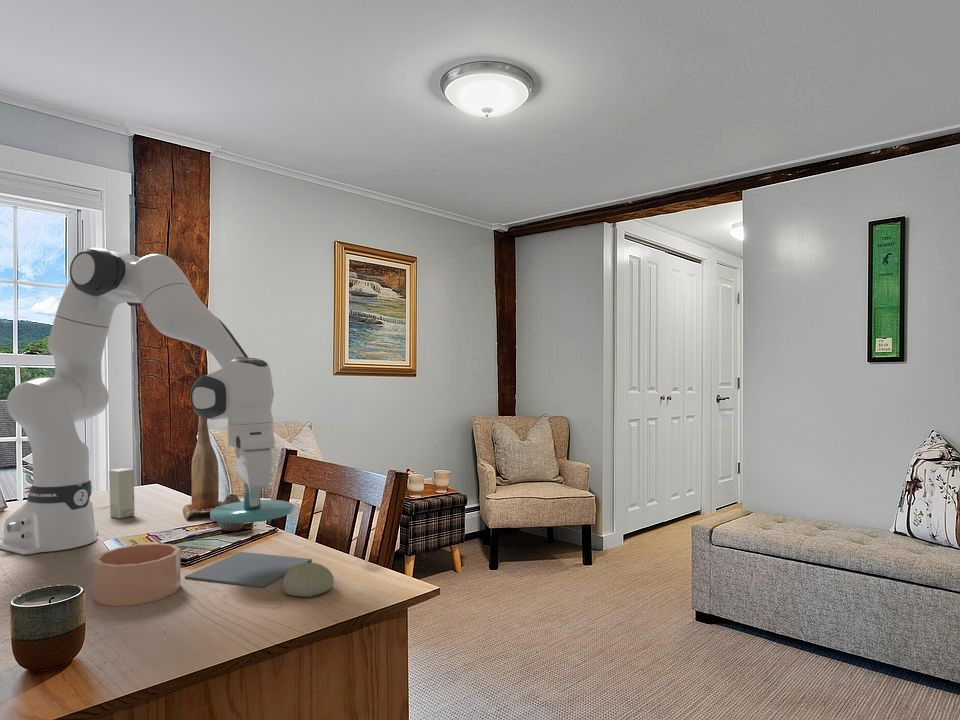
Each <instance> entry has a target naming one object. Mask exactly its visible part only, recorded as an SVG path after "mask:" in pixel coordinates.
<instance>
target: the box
mask: <svg viewBox="0 0 960 720" xmlns="http://www.w3.org/2000/svg"><path fill="white" fill-rule="evenodd" d="M134 474H135V471H134V469H133V468H126V467H123V468H115V469H110V470H109V473H108V477H109V515H110V517H111V518H116V519H124V518H129V517H132V516H135V515H136V514H135V480H134V479H135V478H134Z"/></svg>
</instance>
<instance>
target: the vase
mask: <svg viewBox="0 0 960 720" xmlns="http://www.w3.org/2000/svg"><path fill="white" fill-rule="evenodd" d="M222 502H223V503H222V504H221V505H220V506H222V505H226V504H230V503H236V502H242V500H240V499H239V497H238V494H235V493H229V494H227V495H226V497H225V499H224V500H223V501H222ZM217 524H218V526H219V528H220V529H221V530H222V531H223V530H225V531H224V532H226V531H232V532H238V531H240V530H241V529H242V528H243V526H244V525H245V523H223V522H217Z"/></svg>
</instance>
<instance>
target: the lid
mask: <svg viewBox="0 0 960 720" xmlns="http://www.w3.org/2000/svg"><path fill="white" fill-rule="evenodd" d="M293 508H294V505H293V503H291V502H290V501H286V500H280V499H261V494H260V495H259V505H258V506H254V507H251V506H250V505H249V490H247V491H245V490H244V491H243V501H242V500H241V502H236V503H230V504H226V505H222V506H218V507H216V508H214V509H212V510H211V511H209V516H210V519H211V520H212V521H215V522H217V523H218V522H223V523H244V524H246V523H250V524H251V523H258V522H260V523H261V522H265V521H271V520H275V519H276V520H277V519H279V518H283V517H286V516H288V515H290V514H291V513H292V512H293V511H294V509H293Z"/></svg>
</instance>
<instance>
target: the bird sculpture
mask: <svg viewBox="0 0 960 720" xmlns="http://www.w3.org/2000/svg"><path fill="white" fill-rule="evenodd" d="M210 437H211V436H210V432H209V425H208V419H204V418H201V417H200V416H199V415H198V425H197V441H196V446H195V448H194V452H193V456H192V459H191V503H190V504H185V505H184V506H183V508H182V513H183V516H184V519H185V521H188V519H189V518H190V517H191V516H192V515H195V513H201V512H211V510H212V509H214V508H216V507H219V506H220V505H221V504H222V503H223V501H222V500H221V501H220V500H219V496H220V495H219V493H220V492H219V488H220V485H219V482H220V479H219V478H220V475H219V462H218V457H217V455H216V452H215V449H214V447H213V445H212V442H211V438H210Z"/></svg>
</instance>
